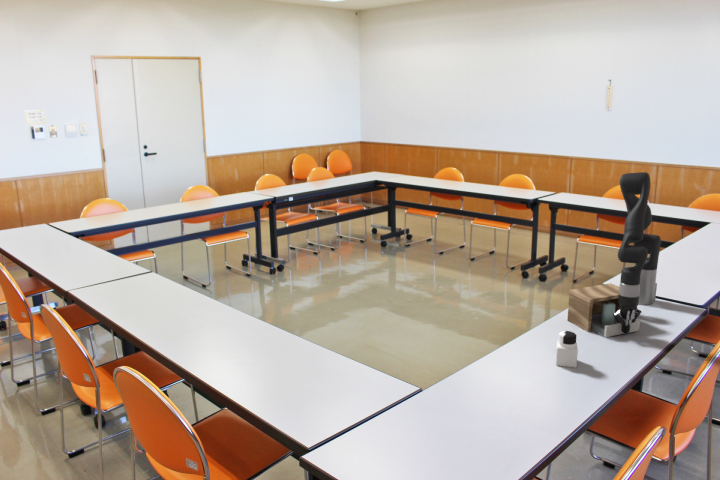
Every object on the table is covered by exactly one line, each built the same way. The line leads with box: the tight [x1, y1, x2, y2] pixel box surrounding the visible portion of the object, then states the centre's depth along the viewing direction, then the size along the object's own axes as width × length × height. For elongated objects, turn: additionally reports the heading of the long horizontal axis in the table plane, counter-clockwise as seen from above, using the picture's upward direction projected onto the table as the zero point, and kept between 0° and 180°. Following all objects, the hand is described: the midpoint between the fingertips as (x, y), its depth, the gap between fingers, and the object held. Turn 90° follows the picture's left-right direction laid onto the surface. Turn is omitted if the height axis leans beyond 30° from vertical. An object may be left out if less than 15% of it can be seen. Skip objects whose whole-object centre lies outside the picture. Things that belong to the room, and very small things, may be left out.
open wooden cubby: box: [566, 282, 619, 332], centre depth 237 cm, size 22×13×14 cm, turn 108°
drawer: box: [591, 312, 641, 338], centre depth 232 cm, size 17×17×4 cm
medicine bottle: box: [555, 330, 579, 369], centre depth 202 cm, size 7×7×12 cm
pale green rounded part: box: [602, 302, 615, 326], centre depth 232 cm, size 5×5×9 cm
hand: (625, 332), depth 224 cm, fingers closed
